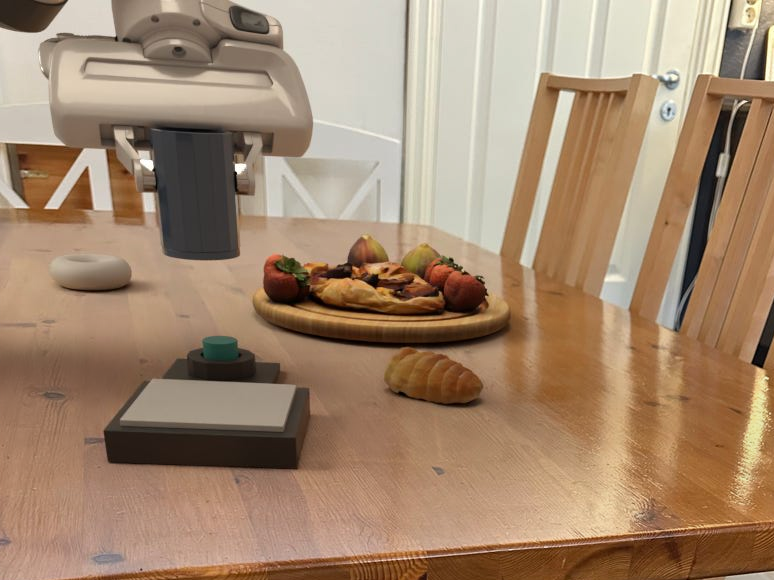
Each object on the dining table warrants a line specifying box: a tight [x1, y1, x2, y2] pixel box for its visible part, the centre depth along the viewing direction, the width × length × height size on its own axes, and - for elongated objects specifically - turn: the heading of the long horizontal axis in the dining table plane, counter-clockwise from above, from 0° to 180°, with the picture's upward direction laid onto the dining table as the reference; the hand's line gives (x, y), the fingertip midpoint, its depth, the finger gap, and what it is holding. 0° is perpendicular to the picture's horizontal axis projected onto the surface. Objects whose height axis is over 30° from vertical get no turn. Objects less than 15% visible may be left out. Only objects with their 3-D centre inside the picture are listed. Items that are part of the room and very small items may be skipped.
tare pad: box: [161, 347, 281, 384], centre depth 88 cm, size 10×8×2 cm
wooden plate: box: [252, 234, 512, 344], centre depth 115 cm, size 32×32×8 cm
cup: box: [149, 127, 241, 261], centre depth 74 cm, size 6×6×9 cm
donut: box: [49, 253, 133, 291], centre depth 121 cm, size 10×4×10 cm
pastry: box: [383, 346, 484, 405], centre depth 89 cm, size 9×7×4 cm
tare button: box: [201, 335, 239, 360], centre depth 88 cm, size 3×3×2 cm
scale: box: [102, 378, 311, 469], centre depth 75 cm, size 14×13×3 cm
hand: (197, 189), depth 74 cm, fingers closed on cup, 6 cm apart
